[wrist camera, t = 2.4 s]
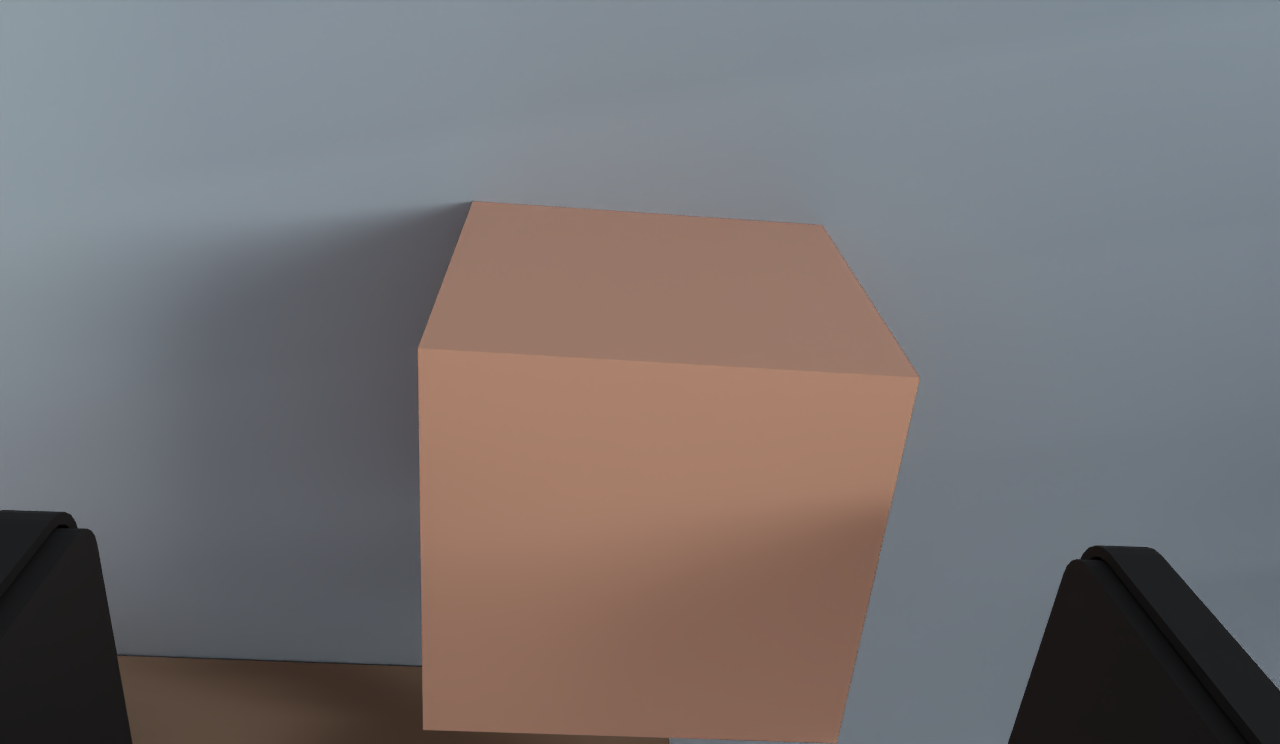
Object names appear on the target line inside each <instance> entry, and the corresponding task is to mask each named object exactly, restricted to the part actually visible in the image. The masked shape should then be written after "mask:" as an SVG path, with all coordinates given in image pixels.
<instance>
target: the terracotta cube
mask: <svg viewBox="0 0 1280 744" xmlns="http://www.w3.org/2000/svg"><path fill="white" fill-rule="evenodd" d="M919 380H920V377H919V375H918V374H917V372H916V371H915V369H914V367H913V366H912V364H911V363H910V361H909V360H908V358H907V357H906V355H905V353H904V352H903V350H902V349H901V347H900V346H899V344H898V342H897V341H896V339H895V338H894V336H893V335H892V333H891V332H890V330H889V328H888V327H887V325H886V324H885V322H884V321H883V319H882V317H881V316H880V314H879V313H878V311H877V310H876V308H875V306H874V305H873V303H872V302H871V300H870V299H869V297H868V296H867V294H866V292H865V291H864V289H863V288H862V286H861V285H860V283H859V281H858V280H857V278H856V277H855V275H854V274H853V272H852V271H851V269H850V267H849V266H848V264H847V263H846V261H845V260H844V258H843V256H842V255H841V253H840V252H839V250H838V249H837V247H836V246H835V244H834V242H833V241H832V239H831V238H830V236H829V235H828V233H827V231H826V230H825V228H824V227H823V225H814V224H799V223H785V222H770V221H756V220H741V219H726V218H712V217H697V216H683V215H668V214H653V213H639V212H624V211H610V210H595V209H580V208H566V207H551V206H537V205H522V204H507V203H493V202H478V201H473V202H472V205H471V207H470V210H469V213H468V215H467V218H466V221H465V223H464V226H463V229H462V231H461V234H460V237H459V239H458V242H457V245H456V247H455V250H454V253H453V255H452V258H451V261H450V263H449V266H448V269H447V271H446V274H445V277H444V280H443V282H442V285H441V288H440V290H439V293H438V296H437V298H436V301H435V304H434V306H433V309H432V312H431V314H430V317H429V320H428V322H427V325H426V328H425V330H424V333H423V336H422V338H421V341H420V344H419V346H418V398H419V472H420V546H421V620H422V695H423V730H441V731H472V732H503V733H534V734H565V735H596V736H627V737H658V738H689V739H720V740H751V741H782V742H813V743H837V740H838V736H839V731H840V727H841V723H842V718H843V714H844V709H845V705H846V701H847V696H848V692H849V687H850V683H851V679H852V674H853V670H854V665H855V661H856V657H857V652H858V648H859V644H860V639H861V635H862V630H863V626H864V622H865V617H866V613H867V608H868V604H869V600H870V595H871V591H872V586H873V582H874V578H875V573H876V569H877V564H878V560H879V556H880V551H881V547H882V542H883V538H884V534H885V529H886V525H887V520H888V516H889V512H890V507H891V503H892V499H893V494H894V490H895V485H896V481H897V477H898V472H899V468H900V463H901V459H902V455H903V450H904V446H905V441H906V437H907V433H908V428H909V424H910V419H911V415H912V411H913V406H914V402H915V397H916V393H917V389H918V384H919Z"/></svg>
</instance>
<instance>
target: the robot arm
mask: <svg viewBox="0 0 1280 744" xmlns="http://www.w3.org/2000/svg"><path fill="white" fill-rule="evenodd" d="M0 744H132V737H131V731H130V726H129V720H128V715H127V709H126V703H125V698H124V692H123V686H122V681H121V675H120V670H119V664H118V658H117V653H116V647H115V642H114V636H113V630H112V625H111V619H110V614H109V608H108V602H107V597H106V591H105V585H104V580H103V574H102V569H101V563H100V557H99V552H98V546H97V542H96V538H95V535H94V534H93V532H92V531H91V530H89V529H78V528H77V525H76V522H75V520H74V519H73V517H72V516H71V515H70V514H68V513H66V512H46V511H15V510H2V511H0ZM1008 744H1280V691H1279V689H1278V688H1277V687H1276V686H1275V685H1274V684H1273V683H1272V681H1271V680H1270V679H1269V678H1268V677H1267V676H1266V675H1265V673H1264V672H1263V671H1262V670H1261V669H1260V668H1259V667H1258V665H1257V664H1256V663H1255V662H1254V661H1253V660H1252V659H1251V657H1250V656H1249V655H1248V654H1247V653H1246V652H1245V651H1244V649H1243V648H1242V647H1241V646H1240V645H1239V644H1238V642H1237V641H1236V640H1235V639H1234V638H1233V637H1232V636H1231V634H1230V633H1229V632H1228V631H1227V630H1226V629H1225V628H1224V626H1223V625H1222V624H1221V623H1220V622H1219V621H1218V620H1217V618H1216V617H1215V616H1214V615H1213V614H1212V613H1211V612H1210V610H1209V609H1208V608H1207V607H1206V606H1205V605H1204V604H1203V602H1202V601H1201V600H1200V599H1199V598H1198V597H1197V596H1196V594H1195V593H1194V592H1193V591H1192V590H1191V589H1190V587H1189V586H1188V585H1187V584H1186V583H1185V582H1184V581H1183V579H1182V578H1181V577H1180V576H1179V575H1178V574H1177V573H1176V571H1175V570H1174V569H1173V568H1172V567H1171V566H1170V565H1169V563H1168V562H1167V561H1166V560H1165V559H1164V558H1163V557H1162V555H1160V554H1159V553H1158V552H1157V551H1156V550H1154V549H1151V548H1148V547H1127V546H1093V547H1089V548H1088V549H1087V550H1086V551H1085V552H1084V553H1083V555H1082V557H1081V559H1076V560H1073V561H1071V562H1070V563H1069V564H1068V565H1067V567H1066V569H1065V572H1064V574H1063V577H1062V580H1061V583H1060V586H1059V589H1058V593H1057V596H1056V599H1055V602H1054V605H1053V608H1052V611H1051V614H1050V617H1049V620H1048V623H1047V626H1046V629H1045V632H1044V635H1043V638H1042V641H1041V644H1040V647H1039V650H1038V653H1037V657H1036V660H1035V663H1034V666H1033V669H1032V672H1031V675H1030V678H1029V681H1028V684H1027V687H1026V690H1025V693H1024V696H1023V699H1022V702H1021V705H1020V708H1019V711H1018V714H1017V718H1016V721H1015V724H1014V727H1013V730H1012V733H1011V736H1010V739H1009V742H1008Z"/></svg>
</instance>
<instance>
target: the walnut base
mask: <svg viewBox="0 0 1280 744" xmlns="http://www.w3.org/2000/svg"><path fill="white" fill-rule="evenodd" d="M117 658H118V664H119V670H120V675H121V681H122V686H123V692H124V698H125V703H126V709H127V715H128V720H129V726H130V731H131V737H132V744H669V738H658V737H627V736H596V735H565V734H534V733H503V732H472V731H441V730H423V695H422V667H412V666H385V665H358V664H331V663H304V662H277V661H250V660H222V659H195V658H168V657H141V656H117Z"/></svg>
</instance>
